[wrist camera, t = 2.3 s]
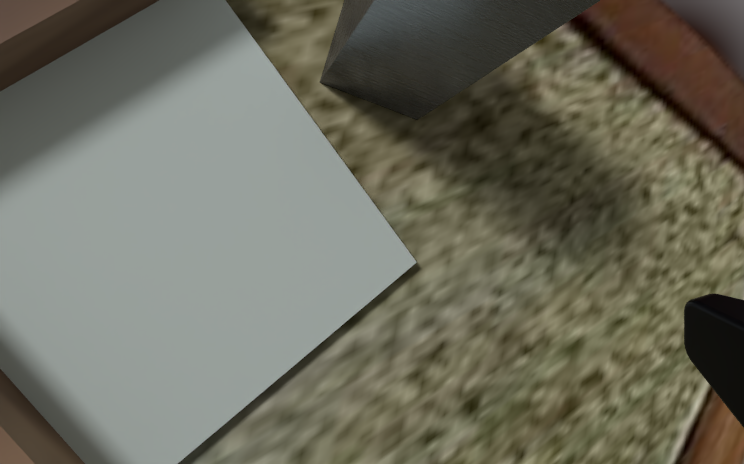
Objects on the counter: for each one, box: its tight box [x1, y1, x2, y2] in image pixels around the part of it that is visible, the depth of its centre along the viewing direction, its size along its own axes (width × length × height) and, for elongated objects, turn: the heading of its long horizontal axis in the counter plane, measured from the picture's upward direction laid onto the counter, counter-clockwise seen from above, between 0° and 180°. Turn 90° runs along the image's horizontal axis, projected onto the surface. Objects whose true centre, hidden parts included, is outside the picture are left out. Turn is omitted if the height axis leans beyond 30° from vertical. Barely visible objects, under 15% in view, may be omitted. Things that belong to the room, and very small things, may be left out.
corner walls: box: [0, 0, 159, 464], centre depth 17 cm, size 14×14×3 cm
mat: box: [0, 0, 417, 464], centre depth 18 cm, size 14×14×1 cm
